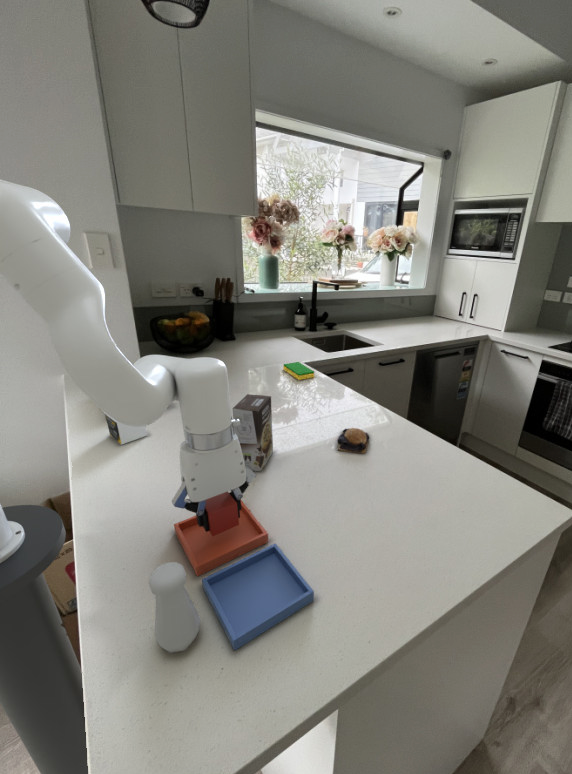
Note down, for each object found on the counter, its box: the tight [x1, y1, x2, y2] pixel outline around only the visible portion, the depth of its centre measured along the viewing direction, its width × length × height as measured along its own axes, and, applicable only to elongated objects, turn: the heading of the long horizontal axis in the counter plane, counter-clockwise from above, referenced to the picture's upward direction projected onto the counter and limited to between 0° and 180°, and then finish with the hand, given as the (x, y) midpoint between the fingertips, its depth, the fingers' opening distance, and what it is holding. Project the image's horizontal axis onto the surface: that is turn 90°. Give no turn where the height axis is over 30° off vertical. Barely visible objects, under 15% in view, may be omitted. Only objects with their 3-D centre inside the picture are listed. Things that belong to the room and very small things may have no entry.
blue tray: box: [201, 543, 315, 651], centre depth 59 cm, size 13×12×2 cm
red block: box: [205, 491, 239, 536], centre depth 68 cm, size 5×5×5 cm
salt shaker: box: [148, 561, 201, 654], centre depth 50 cm, size 6×6×13 cm
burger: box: [337, 427, 370, 455], centre depth 103 cm, size 11×8×4 cm
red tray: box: [173, 499, 269, 577], centre depth 70 cm, size 13×12×2 cm
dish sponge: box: [282, 361, 315, 381], centre depth 152 cm, size 7×14×2 cm, turn 33°
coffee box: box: [231, 393, 274, 472], centre depth 91 cm, size 9×6×16 cm
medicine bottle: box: [104, 412, 148, 445], centre depth 100 cm, size 7×7×12 cm
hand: (220, 519), depth 69 cm, fingers closed on red block, 5 cm apart
